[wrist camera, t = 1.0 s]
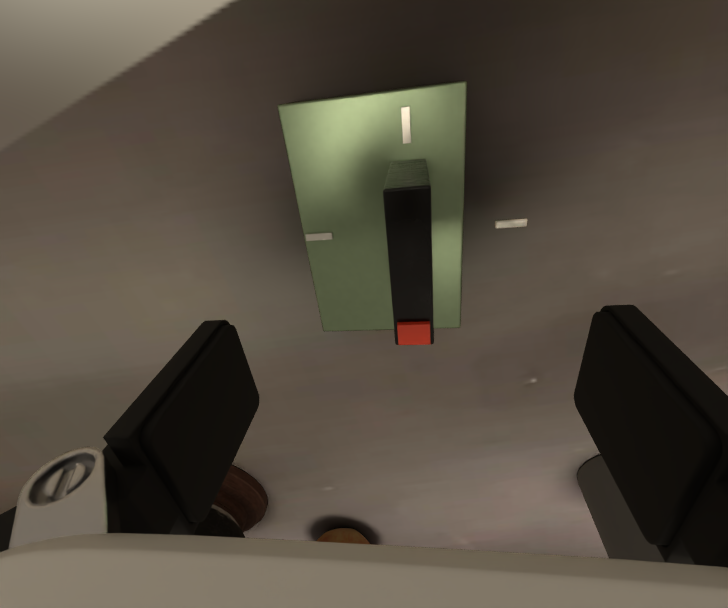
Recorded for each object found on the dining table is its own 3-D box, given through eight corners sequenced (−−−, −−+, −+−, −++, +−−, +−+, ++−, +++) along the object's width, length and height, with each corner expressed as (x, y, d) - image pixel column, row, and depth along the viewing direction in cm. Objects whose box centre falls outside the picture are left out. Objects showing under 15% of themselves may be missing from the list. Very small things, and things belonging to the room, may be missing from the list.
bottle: (660, 488, 30) (842, 786, 17) (583, 499, 32) (697, 776, 19) (651, 443, 28) (858, 754, 15) (569, 459, 29) (690, 746, 17)
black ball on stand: (212, 434, 33) (86, 656, 20) (302, 510, 38) (247, 727, 25) (127, 472, 38) (-17, 670, 25) (217, 535, 43) (135, 727, 30)
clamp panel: (295, 101, 18) (275, 105, 16) (523, 72, 17) (545, 70, 14) (332, 305, 24) (322, 333, 22) (502, 299, 23) (514, 328, 20)
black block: (389, 161, 16) (381, 191, 12) (426, 158, 16) (431, 187, 12) (399, 288, 20) (395, 349, 15) (428, 287, 19) (434, 348, 15)
